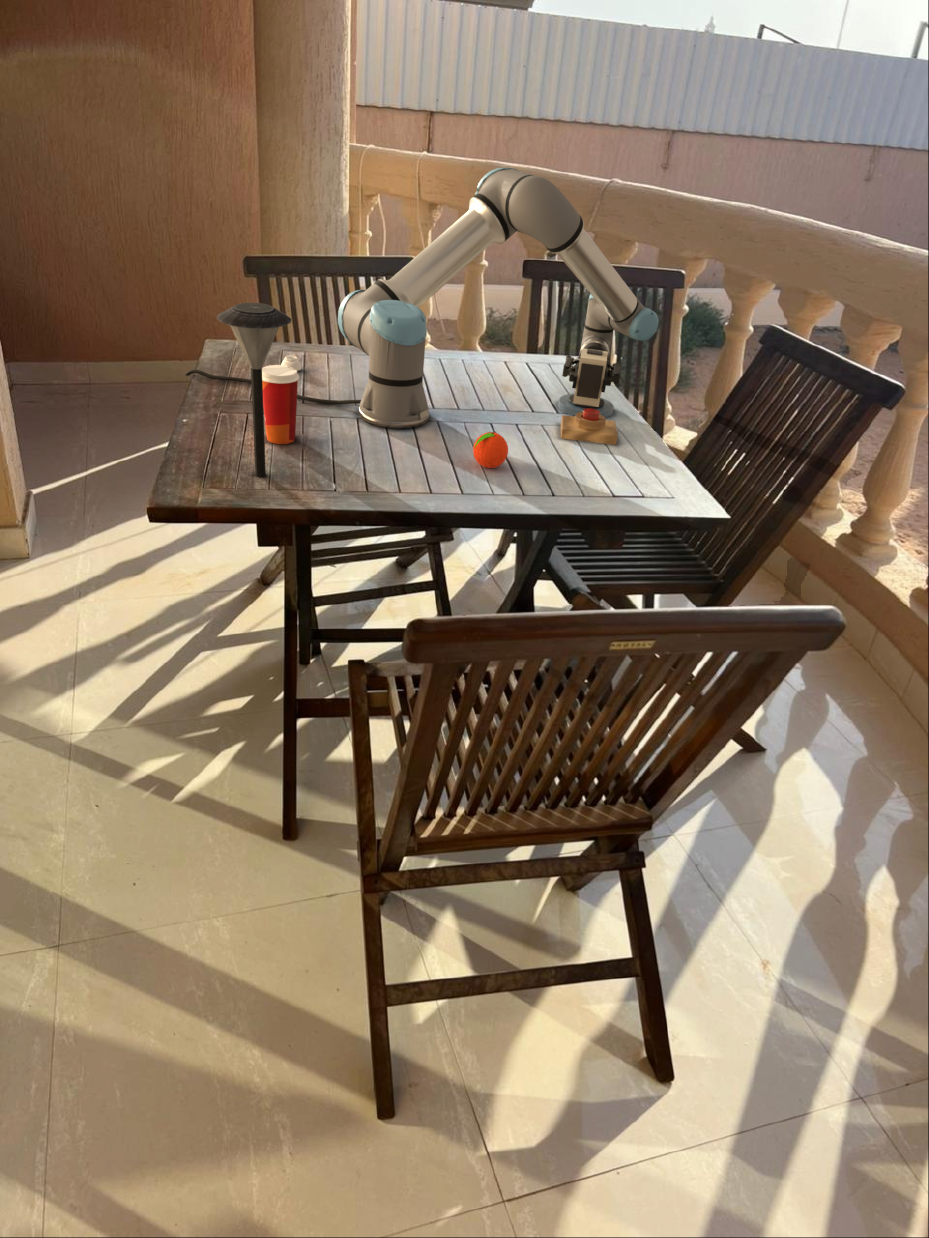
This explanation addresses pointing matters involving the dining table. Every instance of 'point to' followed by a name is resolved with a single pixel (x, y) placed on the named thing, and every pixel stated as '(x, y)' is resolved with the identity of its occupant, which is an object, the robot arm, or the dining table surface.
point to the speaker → (590, 379)
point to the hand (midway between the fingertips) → (589, 384)
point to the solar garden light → (255, 357)
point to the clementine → (490, 450)
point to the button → (591, 414)
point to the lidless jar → (292, 362)
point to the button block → (588, 429)
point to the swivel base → (574, 409)
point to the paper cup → (280, 402)
